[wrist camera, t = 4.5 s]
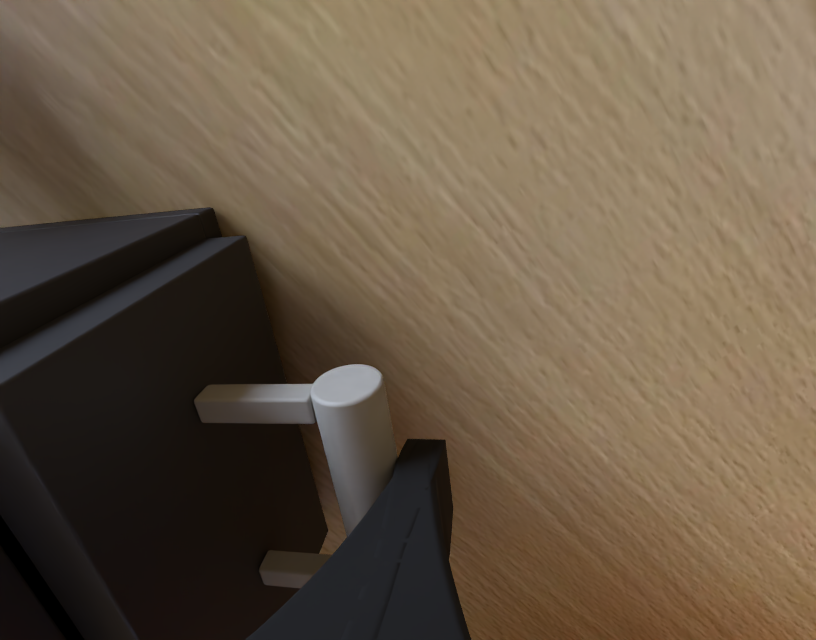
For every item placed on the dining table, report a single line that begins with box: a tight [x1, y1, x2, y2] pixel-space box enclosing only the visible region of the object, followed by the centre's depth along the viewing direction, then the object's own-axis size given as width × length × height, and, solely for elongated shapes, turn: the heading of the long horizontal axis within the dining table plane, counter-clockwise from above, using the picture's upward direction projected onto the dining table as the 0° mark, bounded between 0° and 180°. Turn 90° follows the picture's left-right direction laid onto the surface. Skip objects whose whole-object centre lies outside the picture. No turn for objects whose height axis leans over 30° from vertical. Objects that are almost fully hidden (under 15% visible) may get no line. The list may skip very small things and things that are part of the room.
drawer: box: [0, 236, 398, 640], centre depth 12 cm, size 14×10×7 cm
